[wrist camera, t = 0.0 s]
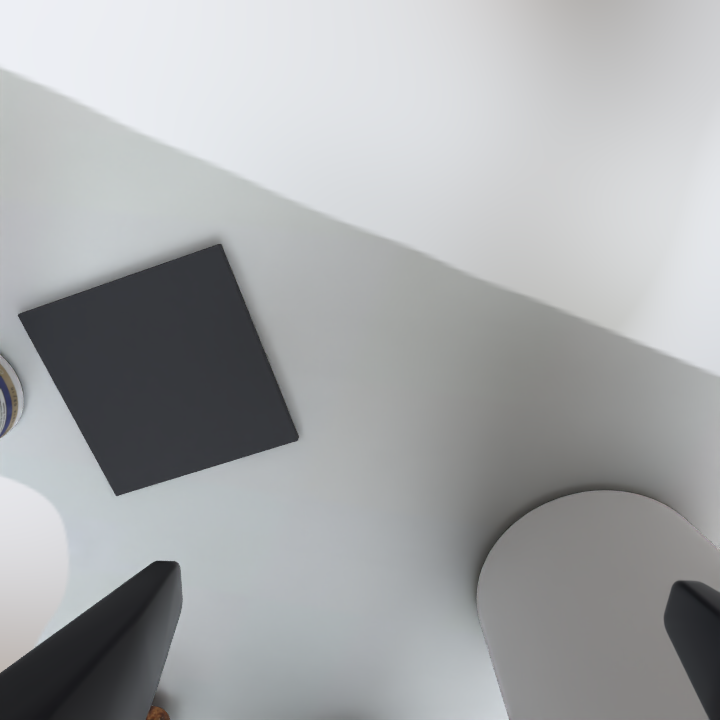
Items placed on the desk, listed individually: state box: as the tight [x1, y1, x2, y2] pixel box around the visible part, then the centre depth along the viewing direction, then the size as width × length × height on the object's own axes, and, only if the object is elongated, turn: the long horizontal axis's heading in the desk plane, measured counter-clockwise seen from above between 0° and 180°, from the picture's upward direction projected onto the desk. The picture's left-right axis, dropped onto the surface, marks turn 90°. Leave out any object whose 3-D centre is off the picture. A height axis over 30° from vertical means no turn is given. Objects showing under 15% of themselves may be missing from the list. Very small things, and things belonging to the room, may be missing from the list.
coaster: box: [18, 244, 299, 496], centre depth 23 cm, size 10×10×1 cm
